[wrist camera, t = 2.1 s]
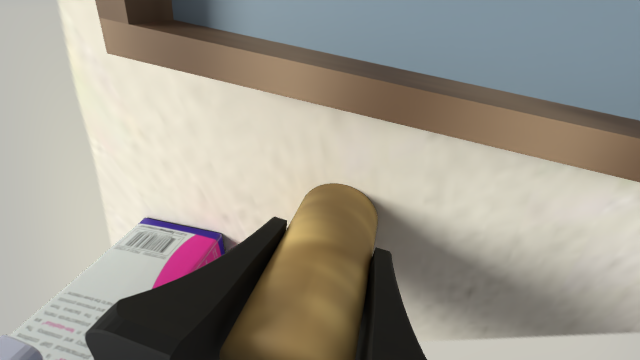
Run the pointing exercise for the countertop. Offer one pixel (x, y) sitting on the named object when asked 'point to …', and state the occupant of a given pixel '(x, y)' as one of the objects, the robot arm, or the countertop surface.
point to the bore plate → (462, 41)
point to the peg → (311, 283)
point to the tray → (375, 89)
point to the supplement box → (117, 284)
